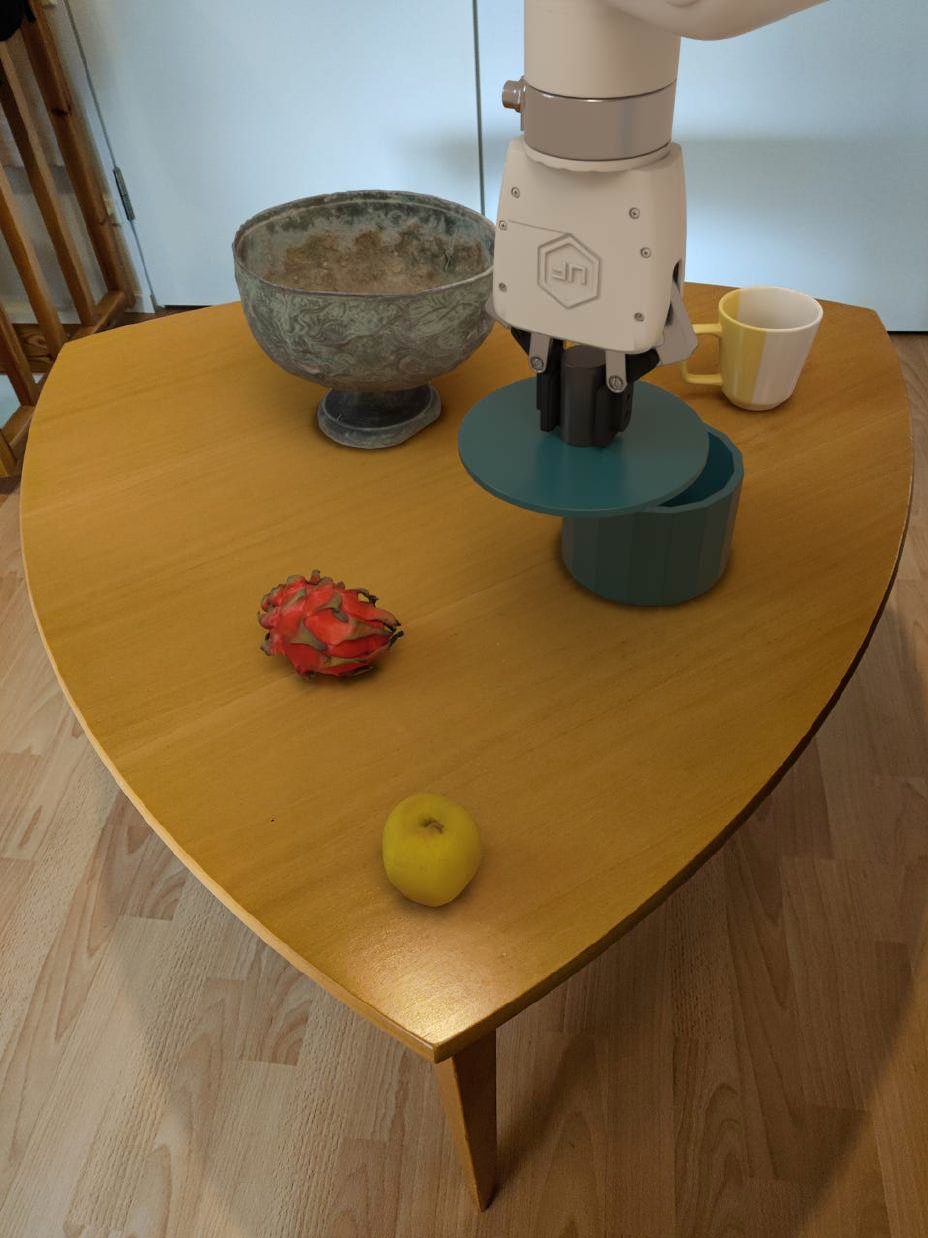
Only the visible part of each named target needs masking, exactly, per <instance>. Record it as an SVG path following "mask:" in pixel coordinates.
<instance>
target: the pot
mask: <svg viewBox="0 0 928 1238" xmlns="http://www.w3.org/2000/svg"><path fill="white" fill-rule="evenodd" d="M703 423H704V425H705V427H706V430H707V433H708V438H709V450H708V457H707V460H706V464H705V466H704V468H703V470H702V472H701V474H700V475H699V476H698V477H697V479H696V480H695V481H694V482H693V483H692V484H691V485H690V486H689V487H688V488H687V489H685V490H684V491H683V492H682V493H680V494H678V495H677V496H675V497H674V498H672V499H670V500H668V501H666V502H664V503H662V504H660V505H657V506H654V507H652V508H649V509H646V510H643V511H639V512H635V513H630V514H626V515H619V516H613V517H601V518H571V517H562V519H561V520H562V521H561V546H560V547H561V550H560V553H561V556H562V560H563V562H564V565H565V568H566V569H567V571H568V572H569V573H570V575H571V576H572V577H573V578H574V580H575V581H577V582H578V583H579V584H580V585H581V586H582V587H584V588H585V589H586V590H588V591H590V592H592V593H593V594H595V595H597V596H600V597H602V598H605V599H607V600H609V601H613V602H616V603H618V604H619V603H620V604H624V605H630V606H637V607H665V606H671V605H676V604H677V605H678V604H681V603H685V602H688V601H690V600H693V599H695V598H698V597H699V596H701V595H703V594H705V593H706V592H708V591H709V590H711V589H712V588H713V587H714V586H715V584H717V583H718V581H719V580H720V579H721V577H722V576H723V573H724V571H725V569H726V566H727V564H728V563H729V557H730V552H731V547H732V542H733V541H732V540H733V536H734V531H735V526H736V519H737V515H738V510H739V505H740V500H741V493H742V488H743V484H744V478H745V467H744V457H743V453H742V451H741V450H740V449H739V448H738V447H737V445H736V444H735V443H734V442H733V441H732V439H731V438H730V437H729V436H728V435H727V434H726V433H724V432H722V431H721V430H719V429H717V428H715V427H714V426H712V425H709V424H708V423H706V422H704V421H703Z"/></svg>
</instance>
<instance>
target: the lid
mask: <svg viewBox="0 0 928 1238" xmlns="http://www.w3.org/2000/svg"><path fill="white" fill-rule="evenodd" d="M605 378H606V358H605V350H603V349H599V348H594V347H590V346H586V345H581V344H574V345H572V346H571V345H570V346H569V347H567V348H565V350H564V351H563V352H562V354H561V362H560V395H559V425H558V426H557V427H556V428H555V429H554V430H553V431H550V432H549V433H548V432H544V431H541V430H540V410H538V409H537V408H536V381H537V375H535V376H530V377H527V378H524V379H523V378H522V379H520V380H516V381H513V382H511V383H508V384H506V385H503V386H501V387H500V388H497V389H495V390H493V391H491V392H490V393H488V394H486V395H485V396H483V397H482V398H481V399H480V400H478V401H477V402H476V403H475V404H473V406H472V407H471V408H470V409H469V411H467V413H466V414H465V416H464V417H463V419H462V421H461V423H460V426H459V429H458V433H457V449H458V450H457V452H458V456H459V459H460V462H461V464H462V466H463V468H464V469H465V472H466V473H467V475H468V476H470V478H471V479H472V480H473V481H474V482H475V483H476V484H477V486H480V488H482V490H484V491H486V492H487V493H489V494H491V495H492V496H493V497H495V498H497V499H498V500H500V501H503V502H505V503H507V504H509V505H512V506H515V507H517V508H520V509H523V510H526V511H530V512H533V513H534V512H535V513H538V514H543V515H548V516H553V517H562V518H563V517H571V518H601V517H613V516H619V515H626V514H630V513H635V512H639V511H643V510H646V509H649V508H652V507H654V506H657V505H660V504H662V503H664V502H666V501H668V500H670V499H672V498H674V497H675V496H677V495H678V494H680V493H682V492H683V491H684V490H685V489H687V488H688V487H689V486H690V485H691V484H692V483H693V482H694V481H695V480H696V479H697V477H698V476H699V475H700V474H701V472H702V470H703V468H704V466H705V464H706V460H707V457H708V450H709V438H708V433H707V430H706V427H705V425H704V423H705V422H704V421H703V419H702V417H700V415H699V413H698V412H697V411H696V410H695V409H694V408H692V406H691V405H690V404H688V403H687V402H686V401H684V399H682V398H681V397H680V396H678V395H676V394H674V393H673V392H671V391H669V390H666V389H665V388H662V387H661V386H658V385H656V384H653V383H650V382H648V381H645V380H642V379H638V380H636V381H635V382H634V389H633V401H632V412H631V419H630V422H629V425H628V427H627V428H626V429H625V430H624V431H623V432H618V433H617V435H616V436H615V437H614V438H613V439H612V441H611V442H610V443H609V444H608V446H607V447H606V448H602V447H598V446H596V443H594V434H595V417H596V400H597V392H598V390H599V388H600V387H601V386H602V385H603V384H604V383H605ZM703 422H704V423H703Z"/></svg>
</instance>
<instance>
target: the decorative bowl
mask: <svg viewBox="0 0 928 1238" xmlns="http://www.w3.org/2000/svg"><path fill="white" fill-rule="evenodd" d="M495 231H496V224H495V223H494V222H493V220H491V219H489V218H488V217H486V216H485V215H483V214H482V213H480V212H478V211H476V210H474V209H472V208H470V207H467V206H465V205H463V204H460V203H458V202H455V201H452V200H449V199H445V198H442V197H440V196H436V195H433V194H428V193H420V192H419V193H418V192H414V191H408V190H391V189H390V190H387V189H359V190H358V189H357V190H346V191H335V192H332V193H321V194H316V195H312V196H307V197H302V198H298V199H294V200H291V201H288V202H284V203H281V204H278V205H275V206H272V207H268V208H266V209H263V210H262V211H259V212H258V213H256V214H254V215H253V216H252V217H251V218H249V219H246V220H245V222H244V223H243V224H240V225H239V227H238V230H237V231H236V232H235V234H234V239H233V242H232V243H231V252H232V257H233V258H232V259H233V264H234V279H235V283H236V286H237V289H238V293H239V299H240V301H241V306H242V309H243V313H244V316H245V319H246V322H247V325H248V327H249V329H250V332H251V334H252V336H253V338H254V339H255V341H256V343H257V344H258V345H259V347H260V349H261V350H262V351H263V352H264V353H265V354H266V356H268V358H269V359H270V360H271V362H273V363H274V364H276V365H277V366H278V367H280V368H281V369H282V370H284V371H285V372H286V373H288V374H290V375H292V376H296V377H298V378H301V379H302V380H305V381H307V382H309V383H312V384H315V385H318V386H321V387H324V388H328V389H330V390H329V391H328V392H326V393H325V395H324V396H323V397H322V399H321V400H320V402H319V405H318V410H317V419H318V426H319V428H320V430H321V431H322V432H323V434H324V435H326V436H327V437H328V438H330V439H331V440H333V441H334V442H336V443H338V444H341V445H342V446H347V447H352V448H353V447H354V448H360V449H369V450H370V449H372V450H373V449H382V448H390V447H394V446H398V445H401V444H402V443H404V442H405V441H407V440H408V439H410V438H412V437H413V436H415V435H416V434H417V433H419V432H421V431H422V430H423V429H425V428H426V427H427V426H429V425H430V424H432V423H433V422H434V421H436V420H437V419H438V418H439V416H440V414H441V409H442V408H441V407H442V405H441V404H442V403H441V398H440V395H439V392H438V390H437V389H436V388H435V387H434V385H432V384H431V383H430V382H432V381H434V380H436V379H438V378H440V377H443V376H446V375H447V374H449V373H452V372H454V371H455V370H456V369H457V368H458V367H459V366H460V365H462V364H464V363H465V362H466V361H467V360H468V359H469V358H470V357H472V355H473V354H474V353H476V351H477V350H478V349H479V348H480V347H481V346H482V345H483V343H484V342H485V341H486V339H487V338H488V337H489V336H490V334H491V333H492V331H493V328H494V326H495V324H496V322H497V321H496V320H494V319H493V318H492V317H491V316H489V315H488V314H487V313H486V311H485V307H484V306H485V303H486V301H487V299H488V297H489V295H490V294H491V292H492V290H493V264H494V245H495Z"/></svg>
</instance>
